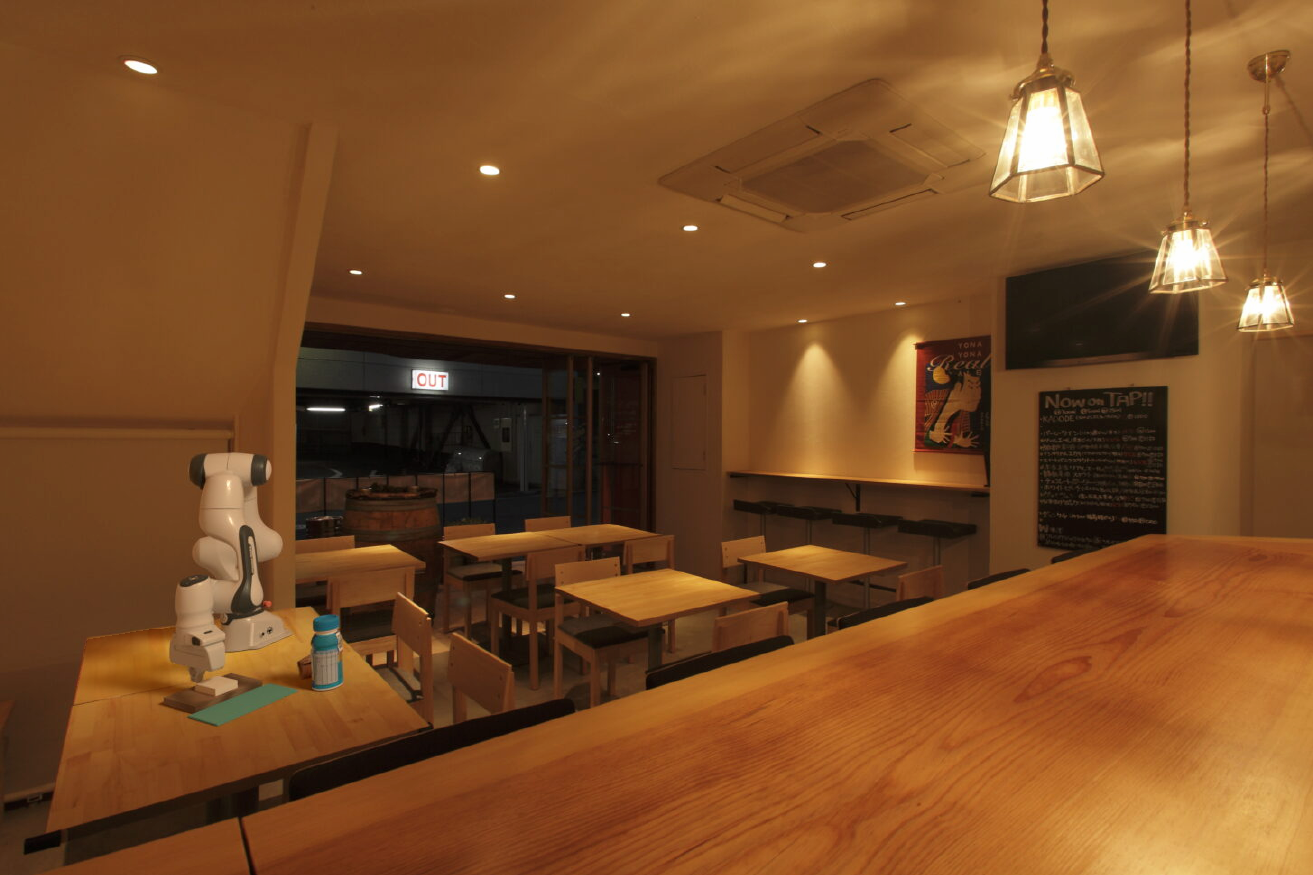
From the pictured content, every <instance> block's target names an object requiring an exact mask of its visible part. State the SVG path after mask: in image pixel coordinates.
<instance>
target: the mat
mask: <svg viewBox="0 0 1313 875" xmlns="http://www.w3.org/2000/svg"><path fill="white" fill-rule="evenodd" d="M297 692H298V689H297V688H292V687H288V686H284V685H279V684H275V683H271V682H267V683H266V684H262V686H261V687H258V688H256V689H253V690H251V691H248V692H246V693H243V694H241V695H238V696H236V697H233V698H231V699H228V700H226V701H223V702H221V703H218V704H216V705H213V706H211V707H208V708H206V709H204V710H201V711H199V712H196V713H191V714H189V715H187V718H189V719H191V720H195V721H198V722H202V723H205V724H209V725H211V726H215V727H219V726H222V725H223V724H227V723H228V722H230V721H233V720H235V719H237V718H239V717H242V716H245V715H246V714H250V713H251V712H253V711H256V710H258V709H261V708H263V707H265V706H267V705H270V704H272V703H274V702H277V701H279V700H281V699H283V698H286V697H287V696H288V697H289V696H290V695H293V694H295V693H297Z"/></svg>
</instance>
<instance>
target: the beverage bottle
mask: <svg viewBox="0 0 1313 875" xmlns="http://www.w3.org/2000/svg"><path fill="white" fill-rule="evenodd" d="M339 628H340V616H339V615H337V614H323V615H320V616H317V617H315V618H313V620H312V629H313V632H315V633H314V634H313V636H312V637H311V640H310V646H311V649H310V652H309V655H311V665H312V678H311V688H312V690H314V691H316V692H326V691H331V690H335V689H337V688H340V686H342V685H343V684H344V670H343V669H344V664H343V651H344V644H342V642H343V636H342V633H341V632H340V631H339Z"/></svg>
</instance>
